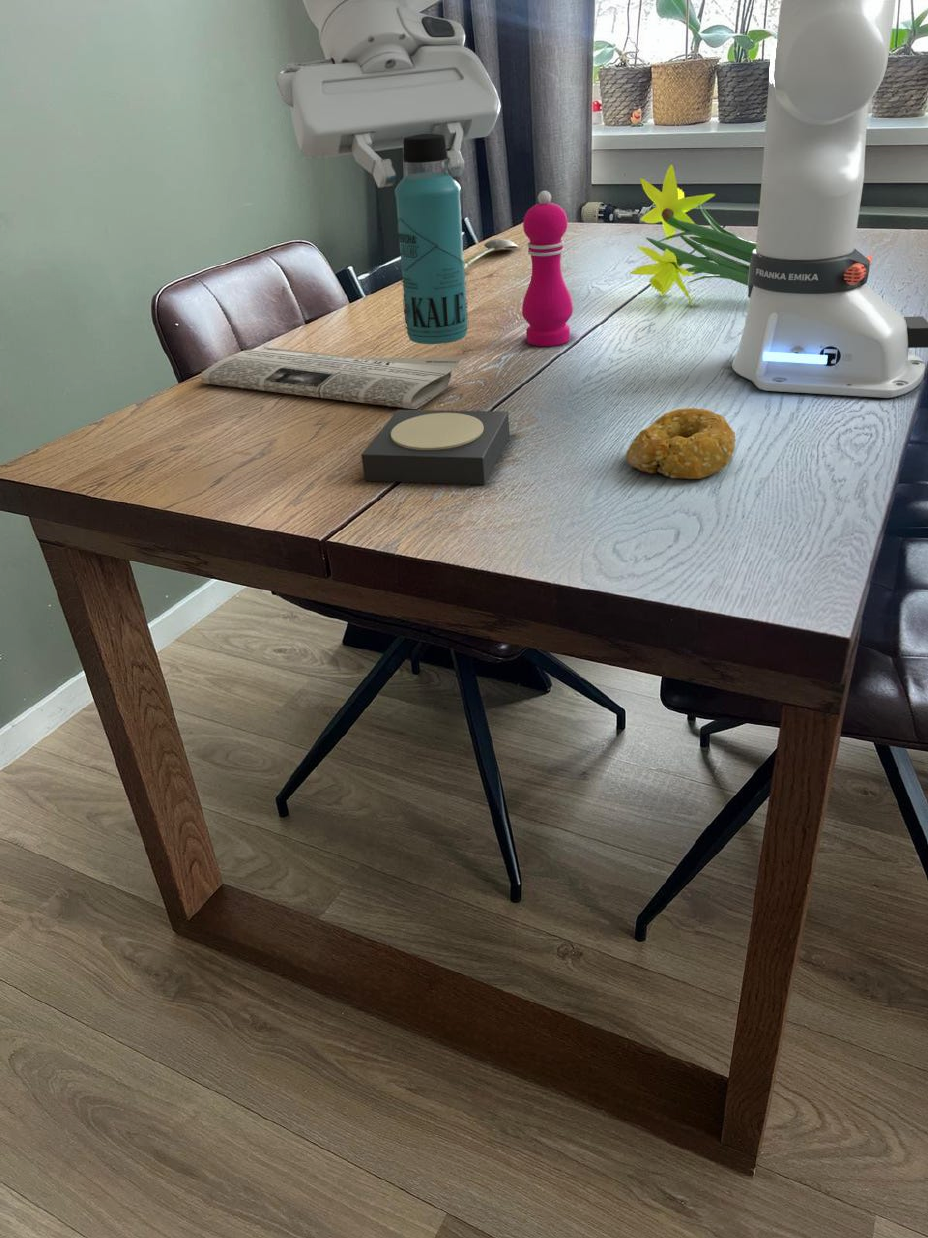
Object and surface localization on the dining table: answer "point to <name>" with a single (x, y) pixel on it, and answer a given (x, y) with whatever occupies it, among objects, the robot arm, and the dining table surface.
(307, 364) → the newspaper
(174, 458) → the dining table surface
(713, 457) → the bagel
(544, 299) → the pepper mill
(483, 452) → the display stand
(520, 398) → the dining table surface
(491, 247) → the soupspoon
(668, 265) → the daffodil flowers
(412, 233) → the beverage bottle
